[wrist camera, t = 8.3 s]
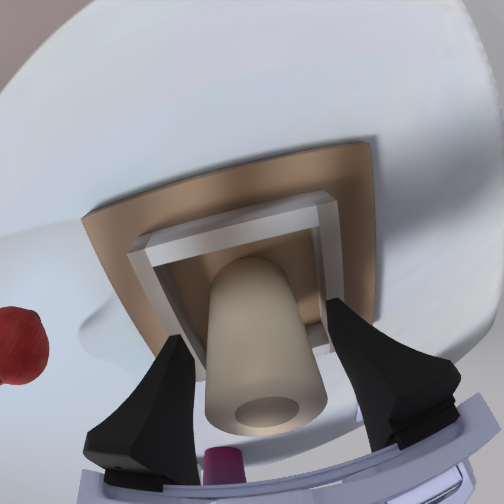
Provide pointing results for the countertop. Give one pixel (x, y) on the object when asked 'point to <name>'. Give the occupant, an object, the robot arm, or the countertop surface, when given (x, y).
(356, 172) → the holder
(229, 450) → the cup
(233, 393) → the roll
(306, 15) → the countertop surface
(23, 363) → the red round fruit
